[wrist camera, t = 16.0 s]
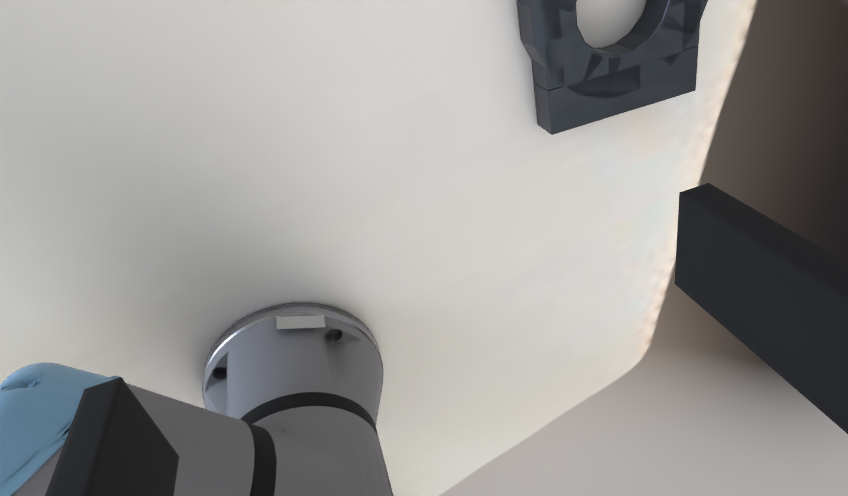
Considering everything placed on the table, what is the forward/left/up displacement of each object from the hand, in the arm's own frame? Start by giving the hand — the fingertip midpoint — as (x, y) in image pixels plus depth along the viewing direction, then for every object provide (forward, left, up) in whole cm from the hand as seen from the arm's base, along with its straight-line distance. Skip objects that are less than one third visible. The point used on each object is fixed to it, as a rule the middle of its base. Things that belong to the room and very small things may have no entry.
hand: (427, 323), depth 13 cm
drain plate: (-1, -21, -29) cm, 36 cm away
